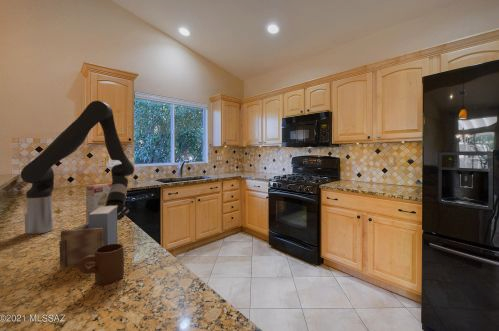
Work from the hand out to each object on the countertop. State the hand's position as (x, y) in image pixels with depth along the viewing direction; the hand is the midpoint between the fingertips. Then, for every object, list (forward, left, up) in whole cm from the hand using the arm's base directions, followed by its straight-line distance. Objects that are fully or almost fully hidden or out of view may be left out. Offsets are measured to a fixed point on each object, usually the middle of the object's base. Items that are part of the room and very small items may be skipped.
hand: (110, 228), depth 101 cm
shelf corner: (-3, -7, -6) cm, 9 cm away
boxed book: (0, -9, -6) cm, 11 cm away
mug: (+7, -36, -6) cm, 37 cm away
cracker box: (-15, +38, -6) cm, 42 cm away
